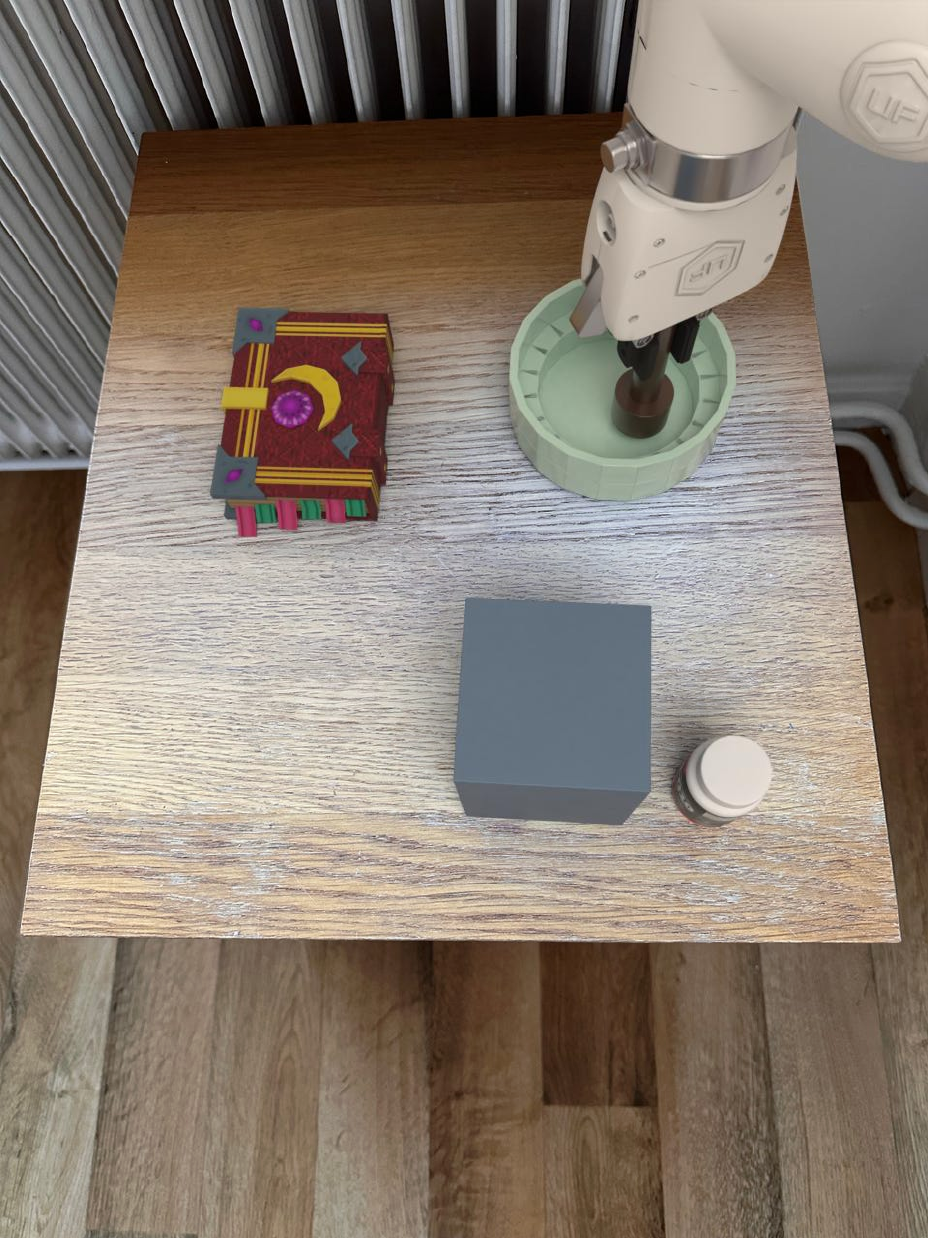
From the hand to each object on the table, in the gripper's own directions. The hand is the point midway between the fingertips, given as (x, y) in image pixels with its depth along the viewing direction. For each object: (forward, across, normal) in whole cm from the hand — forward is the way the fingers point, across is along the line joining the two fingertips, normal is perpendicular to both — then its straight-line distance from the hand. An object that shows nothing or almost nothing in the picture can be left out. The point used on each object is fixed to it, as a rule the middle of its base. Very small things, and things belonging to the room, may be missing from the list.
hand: (653, 352), depth 62 cm
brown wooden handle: (+8, 0, 0) cm, 8 cm away
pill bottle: (+10, -9, -25) cm, 28 cm away
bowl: (+10, -1, +2) cm, 10 cm away
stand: (+10, -16, -18) cm, 26 cm away
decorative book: (+10, -21, +10) cm, 26 cm away
